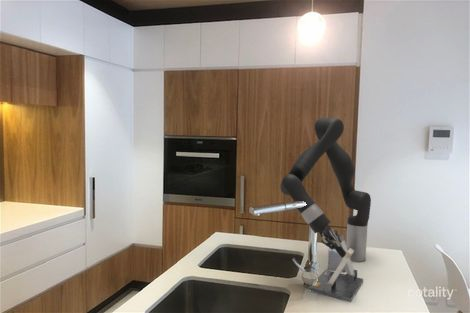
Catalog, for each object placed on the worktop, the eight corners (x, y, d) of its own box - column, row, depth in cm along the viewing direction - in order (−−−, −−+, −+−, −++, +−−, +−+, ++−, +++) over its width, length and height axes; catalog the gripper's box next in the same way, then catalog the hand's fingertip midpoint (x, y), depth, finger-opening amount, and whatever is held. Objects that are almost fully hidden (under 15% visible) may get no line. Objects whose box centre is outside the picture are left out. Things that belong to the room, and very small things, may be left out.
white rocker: (327, 282, 140) (349, 247, 135) (332, 286, 139) (355, 251, 134) (324, 287, 136) (346, 251, 131) (329, 290, 135) (352, 254, 130)
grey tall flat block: (351, 276, 148) (338, 235, 150) (356, 276, 147) (343, 234, 149) (348, 280, 144) (335, 238, 146) (353, 280, 143) (340, 237, 145)
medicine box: (345, 268, 161) (346, 249, 160) (346, 272, 157) (347, 253, 156) (327, 266, 163) (328, 247, 163) (327, 269, 159) (328, 251, 158)
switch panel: (325, 273, 155) (325, 263, 155) (363, 282, 147) (363, 271, 147) (309, 290, 138) (309, 279, 138) (350, 302, 130) (351, 290, 130)
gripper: (316, 216, 132) (347, 256, 126) (327, 209, 143) (356, 245, 138) (302, 227, 135) (331, 266, 130) (314, 219, 146) (341, 255, 141)
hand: (344, 255), depth 134 cm, fingers closed
